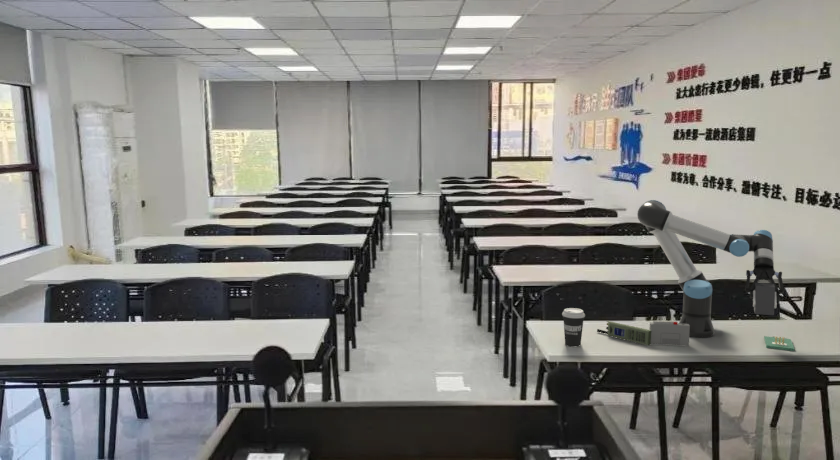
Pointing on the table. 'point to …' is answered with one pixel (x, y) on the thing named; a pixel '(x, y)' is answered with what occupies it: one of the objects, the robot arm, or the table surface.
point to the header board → (778, 343)
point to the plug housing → (764, 298)
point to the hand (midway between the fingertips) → (764, 305)
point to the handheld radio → (628, 333)
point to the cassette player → (669, 333)
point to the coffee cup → (573, 326)
